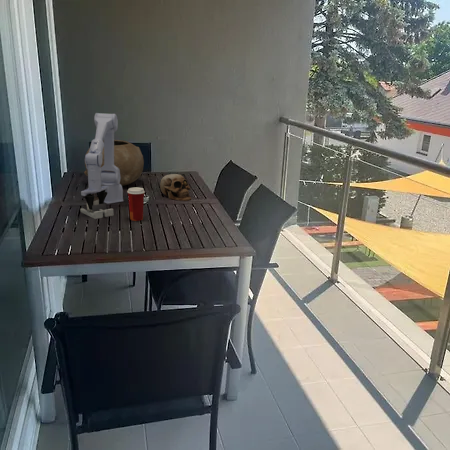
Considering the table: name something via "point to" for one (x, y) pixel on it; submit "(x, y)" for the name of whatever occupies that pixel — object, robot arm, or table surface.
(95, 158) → the robot arm
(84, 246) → the table surface
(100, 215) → the lane
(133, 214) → the paper cup
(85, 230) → the table surface
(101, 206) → the pusher
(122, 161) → the ceramic pot
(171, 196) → the tan skull
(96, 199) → the jar
